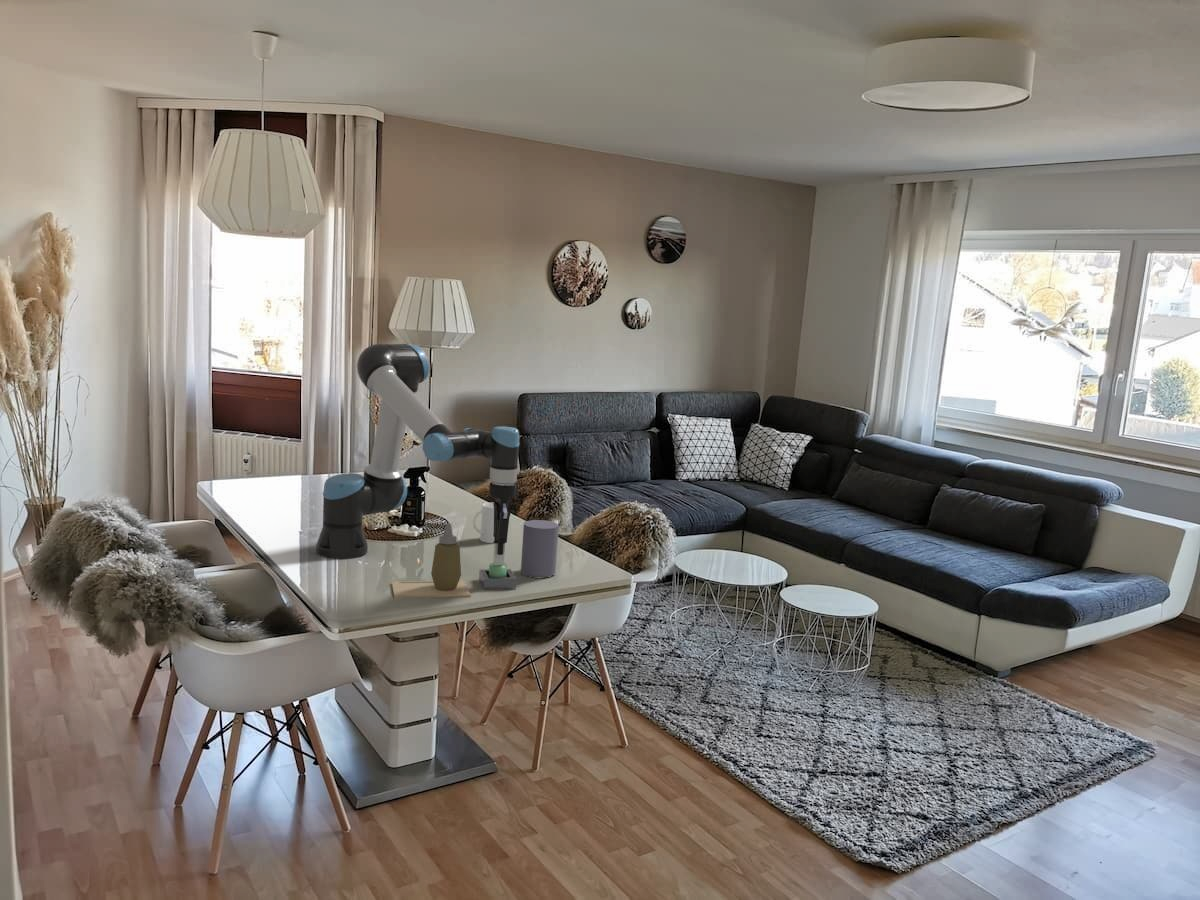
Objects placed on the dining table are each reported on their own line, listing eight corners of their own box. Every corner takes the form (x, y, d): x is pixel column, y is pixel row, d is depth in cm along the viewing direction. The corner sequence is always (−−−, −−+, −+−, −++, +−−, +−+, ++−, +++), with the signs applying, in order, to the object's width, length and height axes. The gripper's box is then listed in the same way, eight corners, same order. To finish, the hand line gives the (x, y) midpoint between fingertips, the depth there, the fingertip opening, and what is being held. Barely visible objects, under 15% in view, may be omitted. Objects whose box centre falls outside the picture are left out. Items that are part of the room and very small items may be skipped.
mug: (476, 545, 296) (478, 509, 294) (466, 538, 303) (468, 503, 301) (509, 542, 302) (511, 507, 300) (498, 536, 309) (500, 501, 308)
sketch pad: (394, 597, 239) (394, 595, 239) (391, 583, 250) (391, 581, 250) (470, 596, 245) (470, 594, 245) (464, 582, 256) (464, 580, 256)
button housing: (483, 589, 251) (484, 579, 251) (478, 579, 260) (479, 569, 259) (515, 589, 254) (516, 578, 253) (509, 579, 262) (510, 569, 262)
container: (520, 567, 275) (523, 519, 273) (555, 569, 276) (558, 521, 273) (520, 577, 265) (523, 527, 262) (555, 579, 266) (559, 529, 263)
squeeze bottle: (431, 582, 252) (434, 519, 250) (461, 583, 253) (464, 520, 250) (429, 591, 244) (432, 526, 242) (459, 592, 245) (462, 527, 242)
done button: (489, 585, 254) (490, 568, 253) (487, 579, 258) (488, 562, 258) (507, 585, 255) (508, 567, 254) (504, 579, 260) (505, 562, 259)
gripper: (521, 487, 247) (516, 571, 251) (512, 478, 259) (507, 558, 263) (493, 487, 245) (489, 571, 249) (486, 477, 257) (481, 558, 261)
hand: (498, 564), depth 256 cm, fingers closed
